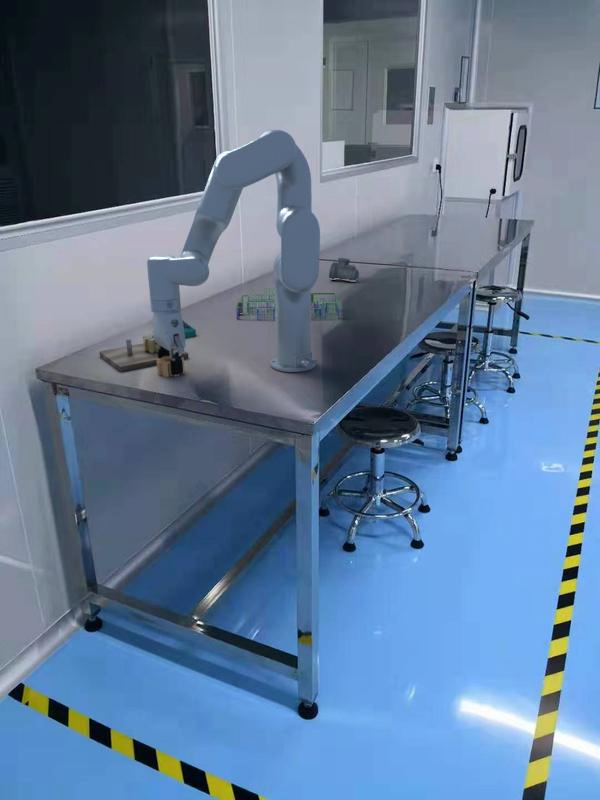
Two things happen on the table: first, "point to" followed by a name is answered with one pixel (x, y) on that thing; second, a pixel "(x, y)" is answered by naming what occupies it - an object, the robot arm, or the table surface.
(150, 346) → the green gear
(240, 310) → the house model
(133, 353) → the gear board
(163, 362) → the tan gear
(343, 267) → the pipe fitting
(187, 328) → the digital multimeter
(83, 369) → the table surface
